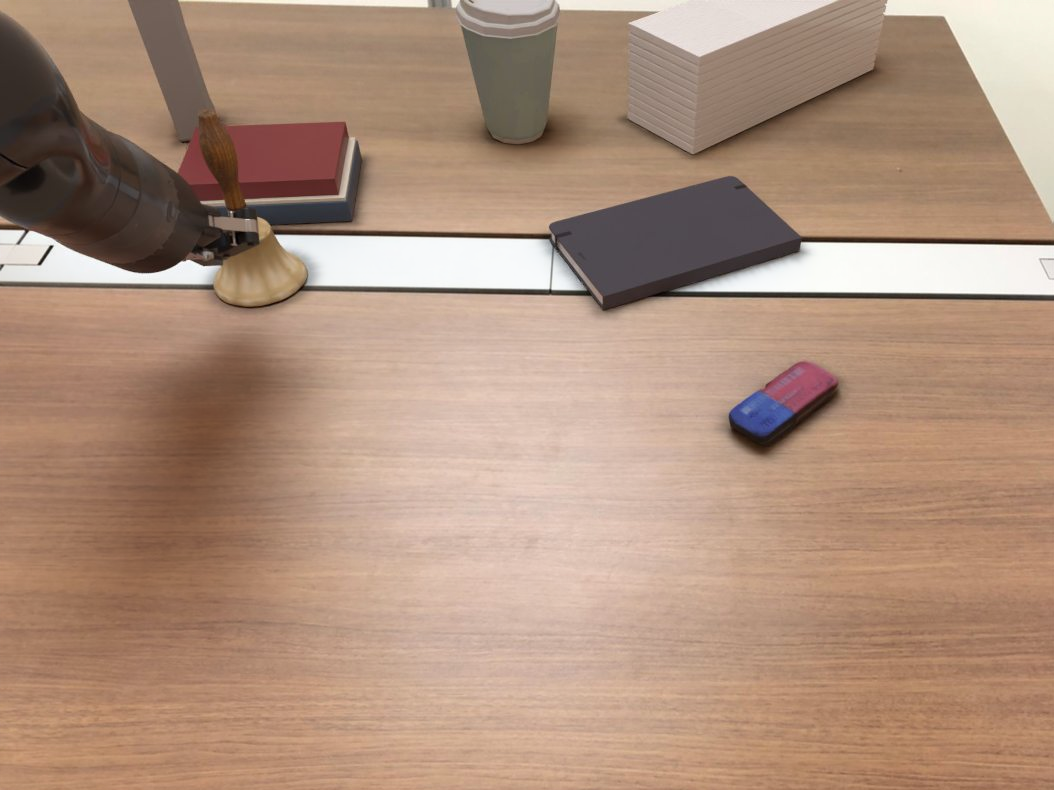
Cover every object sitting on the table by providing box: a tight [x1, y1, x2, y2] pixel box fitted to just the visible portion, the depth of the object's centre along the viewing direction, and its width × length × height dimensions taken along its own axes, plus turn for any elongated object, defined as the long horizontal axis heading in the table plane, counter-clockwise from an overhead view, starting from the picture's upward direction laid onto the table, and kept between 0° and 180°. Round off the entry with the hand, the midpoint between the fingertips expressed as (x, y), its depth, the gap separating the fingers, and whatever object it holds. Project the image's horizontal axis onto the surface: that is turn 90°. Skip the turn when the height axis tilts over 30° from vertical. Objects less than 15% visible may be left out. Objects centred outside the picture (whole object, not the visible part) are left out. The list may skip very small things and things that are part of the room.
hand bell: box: [198, 109, 308, 308], centre depth 80 cm, size 8×8×16 cm
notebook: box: [548, 175, 803, 311], centre depth 90 cm, size 13×2×21 cm
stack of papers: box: [627, 0, 888, 155], centre depth 108 cm, size 32×11×11 cm, turn 133°
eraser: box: [728, 360, 839, 447], centre depth 75 cm, size 11×4×2 cm, turn 135°
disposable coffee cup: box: [455, 0, 562, 145], centre depth 99 cm, size 11×11×15 cm
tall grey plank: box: [127, 0, 218, 143], centre depth 94 cm, size 4×5×25 cm
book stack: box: [177, 121, 363, 226], centre depth 94 cm, size 12×16×4 cm
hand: (212, 253), depth 75 cm, fingers closed
